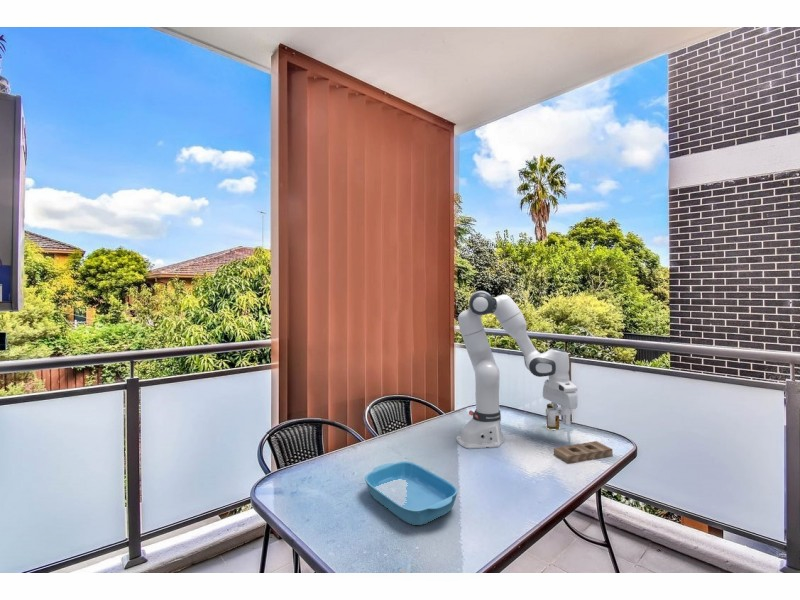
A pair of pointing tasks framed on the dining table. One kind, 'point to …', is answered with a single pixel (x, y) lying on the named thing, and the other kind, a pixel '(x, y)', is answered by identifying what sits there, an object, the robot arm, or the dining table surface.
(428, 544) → the dining table surface
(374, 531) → the dining table surface
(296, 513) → the dining table surface
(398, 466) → the casserole dish
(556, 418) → the condiment
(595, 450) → the brown wooden block
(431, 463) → the dining table surface
